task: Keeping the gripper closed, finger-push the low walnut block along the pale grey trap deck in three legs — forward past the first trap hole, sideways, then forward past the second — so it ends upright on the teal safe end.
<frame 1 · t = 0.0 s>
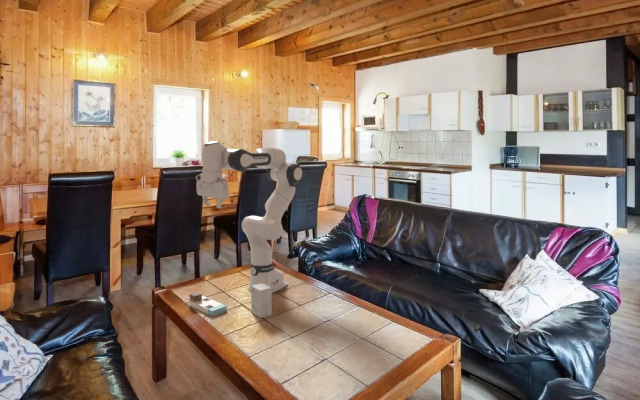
hand: (212, 206, 191), 48 cm above the table, fingers open, 8 cm apart
trap deck: (207, 308, 194), on the table
block: (195, 300, 197), point 2 cm above the table, touching trap deck
small box: (261, 314, 190), on the table
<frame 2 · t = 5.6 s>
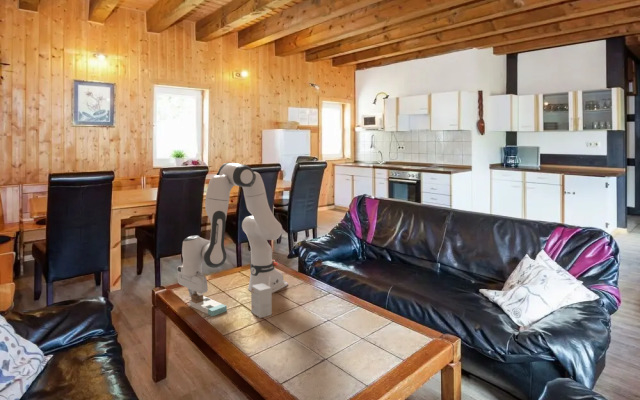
hand: (192, 297, 199), 3 cm above the table, fingers closed
block: (197, 301, 196), point 3 cm above the table, touching gripper
everything else where it was.
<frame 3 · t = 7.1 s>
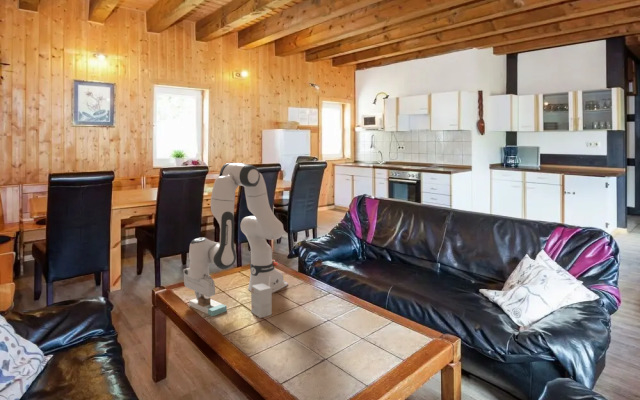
hand: (199, 300, 195), 3 cm above the table, fingers closed
block: (204, 304, 192), point 2 cm above the table, touching gripper, trap deck
everything else where it was.
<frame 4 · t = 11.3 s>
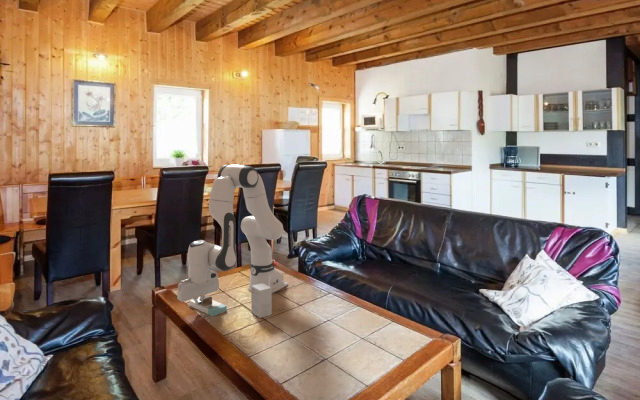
hand: (198, 304, 190), 3 cm above the table, fingers closed
nothing on the table moved.
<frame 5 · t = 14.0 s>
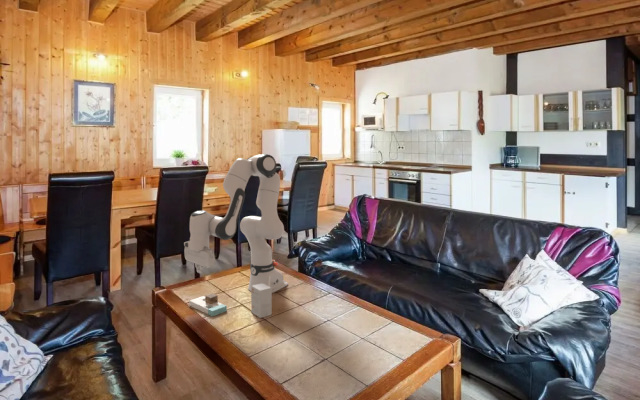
hand: (200, 272, 198), 15 cm above the table, fingers closed
block: (211, 302, 196), point 2 cm above the table, touching trap deck
everything else where it was.
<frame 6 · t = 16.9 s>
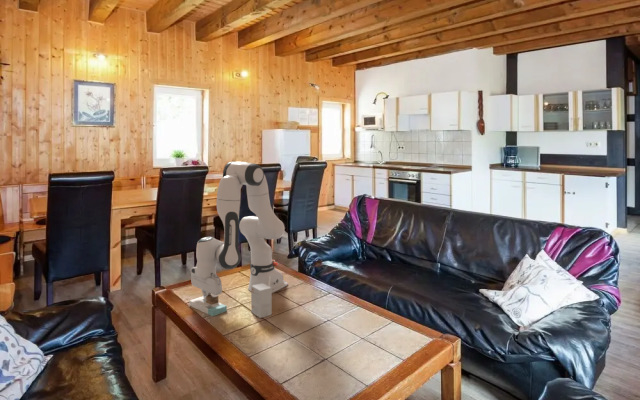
hand: (206, 298, 197), 3 cm above the table, fingers closed
block: (212, 302, 195), point 3 cm above the table, touching gripper
everything else where it was.
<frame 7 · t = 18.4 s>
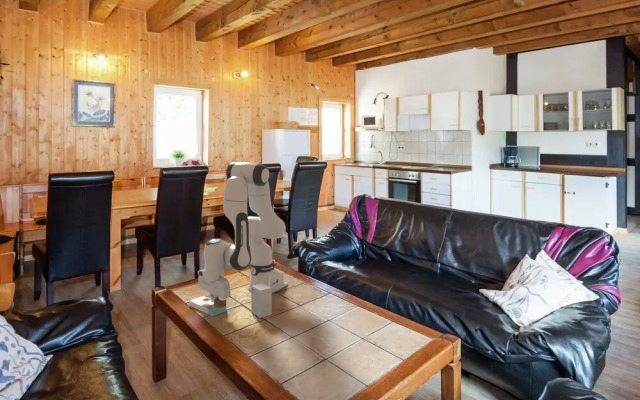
hand: (214, 302, 193), 3 cm above the table, fingers closed
block: (220, 306, 191), point 2 cm above the table, touching gripper, trap deck
everything else where it was.
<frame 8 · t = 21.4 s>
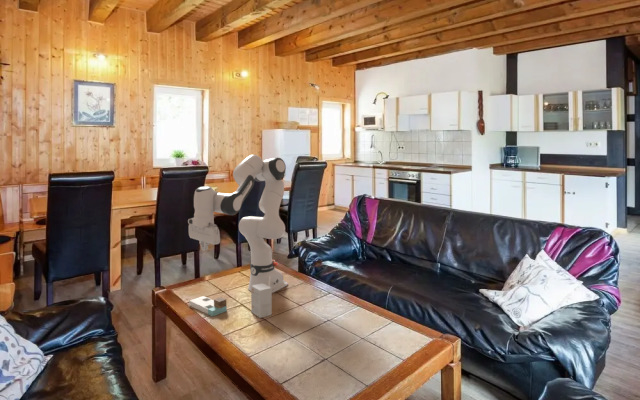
hand: (204, 250, 194), 27 cm above the table, fingers closed
block: (220, 306, 191), point 2 cm above the table, touching trap deck
everything else where it was.
at the end: block 0.1 cm from the target spot on the trap deck, point 2.5 cm above the trap deck's base; block tilted 0° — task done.
